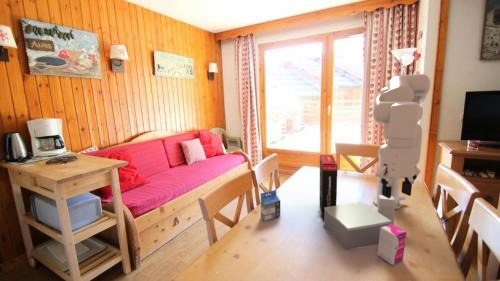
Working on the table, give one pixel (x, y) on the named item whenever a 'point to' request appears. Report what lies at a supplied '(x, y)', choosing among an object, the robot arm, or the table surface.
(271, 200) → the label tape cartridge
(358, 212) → the box lid
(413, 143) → the robot arm
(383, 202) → the skincare box
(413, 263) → the table surface
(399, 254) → the supplement box
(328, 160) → the graphics card box
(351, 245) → the storage box
